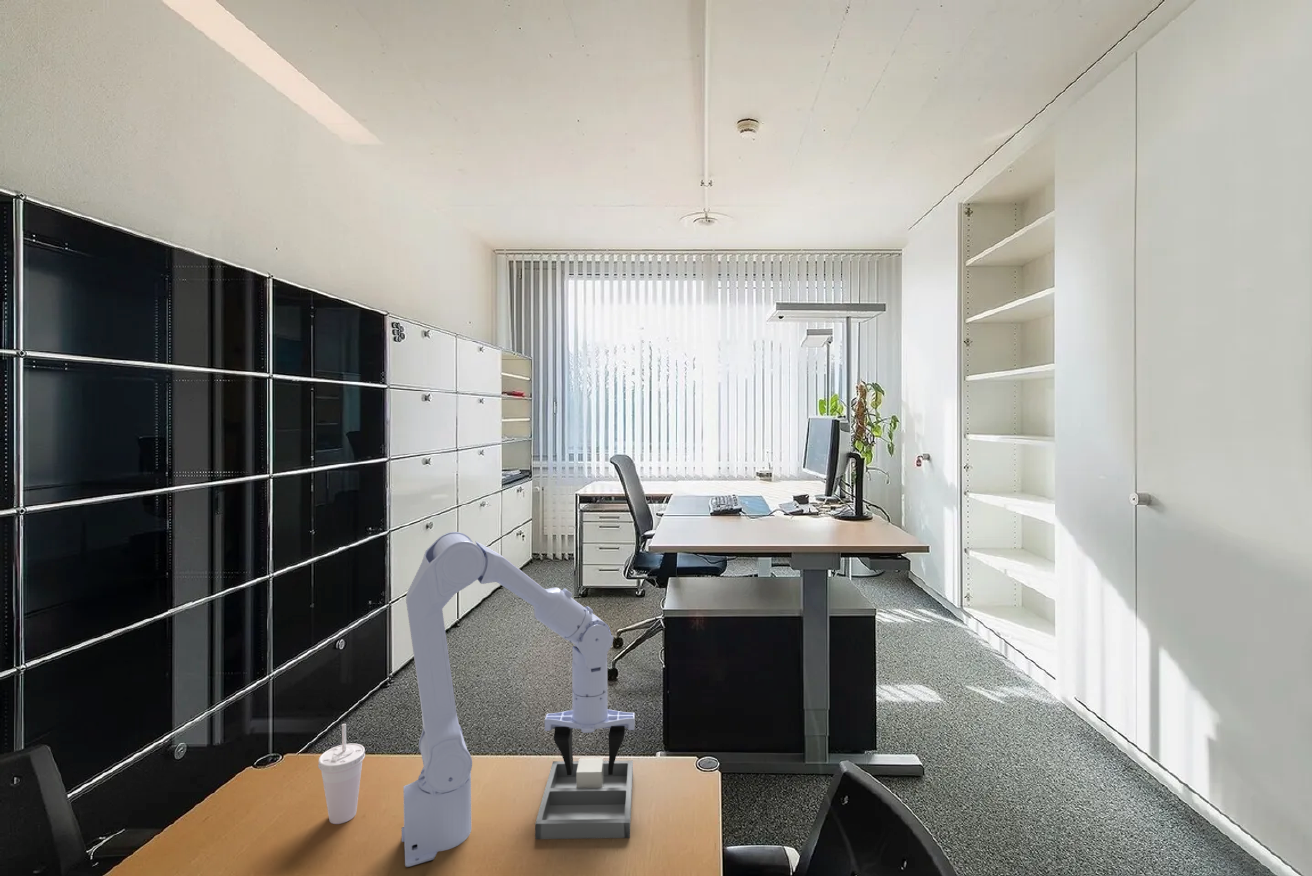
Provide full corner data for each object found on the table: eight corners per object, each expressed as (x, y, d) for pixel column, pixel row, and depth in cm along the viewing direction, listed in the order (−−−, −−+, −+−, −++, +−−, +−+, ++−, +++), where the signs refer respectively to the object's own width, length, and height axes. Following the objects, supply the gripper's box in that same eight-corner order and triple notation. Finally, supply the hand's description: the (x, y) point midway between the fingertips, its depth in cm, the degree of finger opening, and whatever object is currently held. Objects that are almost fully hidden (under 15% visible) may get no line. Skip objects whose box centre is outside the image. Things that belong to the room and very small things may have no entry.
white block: (576, 797, 93) (576, 772, 93) (579, 782, 97) (579, 758, 97) (601, 796, 93) (601, 772, 93) (603, 781, 97) (603, 757, 97)
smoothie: (374, 803, 93) (373, 717, 92) (349, 831, 86) (348, 738, 86) (336, 801, 93) (335, 715, 93) (309, 828, 87) (307, 736, 87)
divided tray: (535, 844, 83) (535, 823, 83) (553, 778, 99) (553, 761, 99) (629, 843, 84) (629, 822, 84) (632, 777, 99) (632, 760, 99)
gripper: (540, 701, 91) (541, 787, 91) (633, 700, 91) (634, 786, 91) (548, 681, 98) (549, 761, 98) (634, 680, 98) (635, 760, 98)
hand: (590, 771), depth 95 cm, fingers open, 6 cm apart
